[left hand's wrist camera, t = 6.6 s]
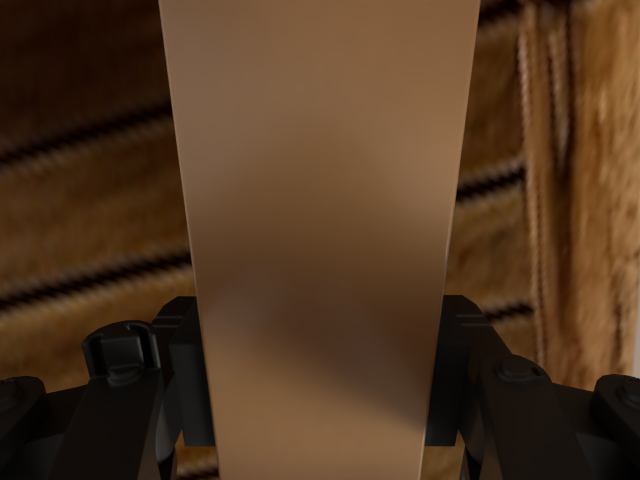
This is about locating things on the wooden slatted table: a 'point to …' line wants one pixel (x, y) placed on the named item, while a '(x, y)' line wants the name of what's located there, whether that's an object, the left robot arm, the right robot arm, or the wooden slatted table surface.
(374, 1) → the bar
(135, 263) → the wooden slatted table surface
